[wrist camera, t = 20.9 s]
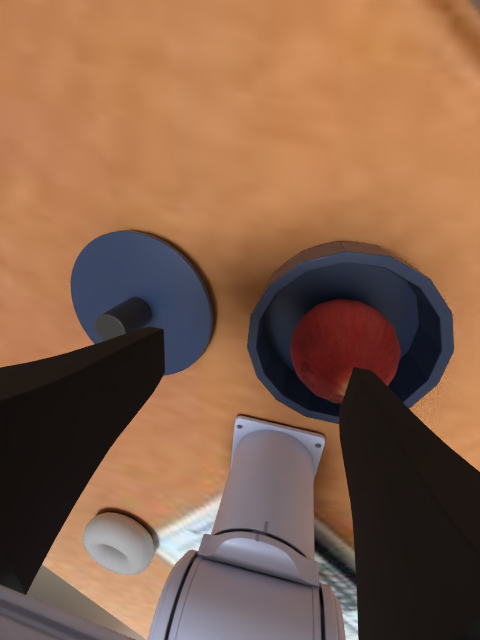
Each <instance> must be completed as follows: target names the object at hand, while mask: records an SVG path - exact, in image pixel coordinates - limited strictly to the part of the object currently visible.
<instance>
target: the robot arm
mask: <svg viewBox="0 0 480 640" xmlns="http://www.w3.org/2000/svg"><path fill="white" fill-rule="evenodd" d="M164 373H165V350H164V329H160V328H155V327H150V326H149V327H145V328H141V329H138V330H135V331H132V332H129V333H126V334H123V335H120V336H118V337H115V338H112V339H109V340H106V341H103V342H100V343H97V344H94V345H91V346H88V347H85V348H81V349H78V350H75V351H72V352H69V353H65V354H61V355H58V356H54V357H50V358H46V359H41V360H37V361H33V362H28V363H23V364H17V365H12V366H7V367H1V368H0V640H135V639H132V638H130V637H127V636H125V635H122V634H120V633H118V632H115V631H112V630H110V629H108V628H105V627H103V626H100V625H98V624H95V623H93V622H91V621H88V620H86V619H83V618H81V617H78V616H76V615H73V614H71V613H68V612H66V611H63V610H61V609H59V608H56V607H54V606H51V605H49V604H46V603H44V602H41V601H39V600H36V599H34V598H32V597H29V596H27V595H26V594H27V592H28V590H29V588H30V586H31V584H32V582H33V580H34V578H35V576H36V574H37V572H38V570H39V568H40V566H41V565H42V563H43V561H44V559H45V557H46V555H47V554H48V552H49V550H50V548H51V546H52V544H53V542H54V540H55V538H56V537H57V535H58V533H59V531H60V530H61V528H62V526H63V524H64V523H65V521H66V519H67V517H68V516H69V514H70V512H71V510H72V509H73V507H74V505H75V503H76V502H77V500H78V498H79V497H80V495H81V493H82V492H83V490H84V488H85V487H86V485H87V484H88V482H89V480H90V479H91V477H92V475H93V474H94V472H95V471H96V469H97V467H98V466H99V464H100V463H101V461H102V460H103V458H104V457H105V455H106V453H107V452H108V450H109V449H110V447H111V446H112V445H113V443H114V442H115V441H116V439H117V438H118V437H119V435H120V434H121V433H122V432H123V430H124V429H125V428H126V427H127V425H128V424H129V423H130V422H131V420H132V419H133V418H134V416H135V415H136V414H137V413H138V411H139V410H140V409H141V408H142V406H143V405H144V404H145V403H146V401H147V400H148V399H149V397H150V396H151V395H152V393H153V392H154V390H155V389H156V387H157V385H158V384H159V382H160V380H161V378H162V377H163V375H164ZM239 424H240V425H242V426H240V425H239ZM339 427H340V441H341V448H342V454H343V460H344V466H345V472H346V478H347V484H348V490H349V496H350V502H351V510H352V518H353V532H354V547H355V564H356V584H357V608H358V637H359V640H480V472H479V471H478V470H477V469H475V468H474V467H473V466H472V465H470V464H469V463H468V462H467V461H466V460H464V459H463V458H462V457H461V456H460V455H458V454H457V453H456V452H455V451H453V450H452V449H451V448H450V447H449V446H448V445H447V444H445V443H444V442H443V441H442V440H441V439H440V438H439V437H438V436H436V435H435V434H434V433H433V432H432V431H431V430H430V429H429V428H428V427H427V426H426V425H425V424H424V423H423V422H422V421H421V420H420V419H418V418H417V417H416V416H415V415H414V414H413V413H412V412H411V411H410V410H409V409H408V408H407V406H406V405H405V404H404V403H403V402H402V401H401V400H400V399H399V398H398V397H397V396H396V395H395V394H394V393H393V392H392V391H391V390H390V389H389V387H388V386H387V385H386V384H385V383H384V382H383V381H382V380H381V379H380V378H379V377H378V376H377V375H376V374H375V373H374V372H373V371H372V370H367V369H362V368H357V367H353V370H352V373H351V376H350V379H349V382H348V385H347V388H346V392H345V395H344V398H343V401H342V404H341V407H340V410H339ZM317 443H319V444H317ZM324 445H325V437H324V436H323V435H321V434H318V433H313V432H309V431H305V430H300V429H296V428H292V427H288V426H283V425H279V424H275V423H271V422H266V421H262V420H258V419H254V418H249V417H245V416H237V417H236V419H235V426H234V436H233V446H232V456H231V466H230V472H229V475H228V479H227V482H226V486H225V489H224V493H223V496H222V499H221V503H220V506H219V510H218V513H217V517H216V520H215V523H214V527H213V530H212V534H211V535H209V534H204V535H203V538H202V541H201V545H200V548H199V551H195V550H189V551H188V552H187V553H186V554H185V555H184V556H183V557H182V558H181V559H180V560H179V561H178V562H177V563H176V564H175V566H174V567H173V569H172V570H171V572H170V574H169V576H168V578H167V581H166V583H165V585H164V588H163V590H162V593H161V596H160V598H159V601H158V604H157V607H156V611H155V614H154V617H153V621H152V625H151V628H150V633H149V637H148V640H345V630H344V622H343V616H342V610H341V606H340V604H339V602H338V600H337V598H336V597H335V595H334V594H333V592H332V589H331V588H330V586H329V585H325V584H320V585H319V571H318V562H317V561H314V483H313V482H314V478H315V475H316V472H317V468H318V465H319V461H320V458H321V455H322V451H323V448H324Z"/></svg>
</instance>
